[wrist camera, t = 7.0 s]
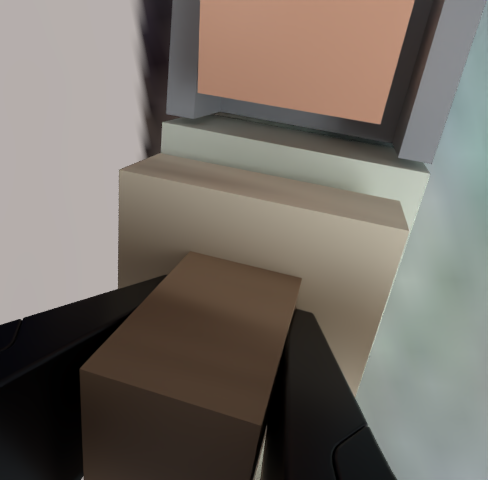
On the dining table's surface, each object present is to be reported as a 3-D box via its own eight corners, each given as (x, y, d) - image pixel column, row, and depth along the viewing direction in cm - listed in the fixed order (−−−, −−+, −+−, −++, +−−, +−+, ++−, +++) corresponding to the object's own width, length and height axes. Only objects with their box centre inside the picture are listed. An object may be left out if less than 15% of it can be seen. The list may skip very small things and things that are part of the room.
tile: (380, 124, 8) (420, -20, 7) (197, 92, 9) (201, -43, 8) (381, 84, 12) (408, -19, 10) (246, 63, 12) (255, -35, 11)
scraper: (340, 395, 12) (325, 662, 7) (150, 340, 13) (2, 531, 8) (400, 200, 9) (454, 370, 4) (160, 153, 11) (-48, 237, 5)
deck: (358, 336, 15) (357, 392, 13) (185, 289, 17) (150, 331, 14) (416, 152, 13) (430, 173, 10) (201, 112, 14) (162, 122, 11)
